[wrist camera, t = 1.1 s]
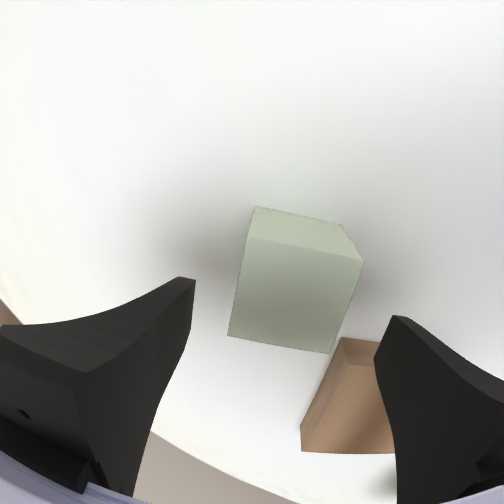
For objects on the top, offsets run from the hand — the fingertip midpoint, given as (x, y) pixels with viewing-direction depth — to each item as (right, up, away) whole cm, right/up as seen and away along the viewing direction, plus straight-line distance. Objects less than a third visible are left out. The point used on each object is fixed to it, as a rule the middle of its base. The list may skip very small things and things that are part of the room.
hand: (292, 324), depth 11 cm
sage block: (0, +2, +6) cm, 7 cm away
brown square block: (+8, -8, +10) cm, 14 cm away
